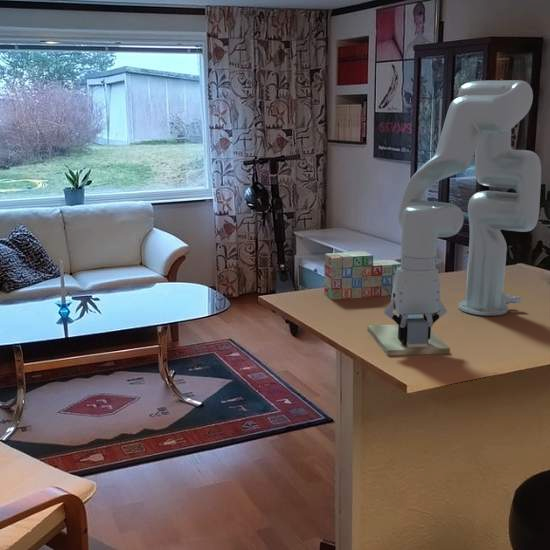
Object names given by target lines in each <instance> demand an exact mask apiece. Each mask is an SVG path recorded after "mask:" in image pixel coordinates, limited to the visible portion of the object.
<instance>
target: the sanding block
mask: <svg viewBox="0 0 550 550" xmlns="http://www.w3.org/2000/svg"><path fill="white" fill-rule="evenodd" d="M428 325H429V323H428V322H427V321H426V320H425V319H424V318H423V317H422V316H421V314H415V315H408V318H407V322H406V328H407V344H406V345H407V346H408V347H409V348H414V347H427V342H428Z"/></svg>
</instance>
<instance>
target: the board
mask: <svg viewBox="0 0 550 550" xmlns="http://www.w3.org/2000/svg"><path fill="white" fill-rule="evenodd" d="M398 326H399V325H398V324H397V323H396V324H373V325H372V324H370V325H369V324H368V325H367V332H368V333H369V334H370V335H371V336H372V337H373V339H374V340H375V341H376V343H377V344H378V345H379V346H380V348H381V350H383V352H384V353H385V354H386V356H391V357H392V356H416V355H439V354H440V355H441V354H442V355H443V354H450V351H451V347H449V346H448V345H447V343H445V342H444V341H443V340H442V339H441V338H440V337H439V336H438V335H436V334H435V333H434V332H433V331H432V330H431V333H430V339H428V344H427V347H414V348H409V347H408V346H407V345H403V344H402V343H401V342H400V340H399V339H398Z"/></svg>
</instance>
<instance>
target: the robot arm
mask: <svg viewBox="0 0 550 550" xmlns="http://www.w3.org/2000/svg"><path fill="white" fill-rule="evenodd" d="M533 99H534V93H533V89H532V87H531V85H530V84H529V83H528V82H527V81H525V80H521V79H519V80H516V79H515V80H513V79H512V80H510V79H509V80H508V79H507V80H506V79H505V80H495V79H493V80H492V79H491V80H489V79H488V80H475V81H473V80H472V81H468V82H465V83H464V84H463V85H461V86H460V88H459V90H458V96H457V97H456V98H455V99H453V100H452V101H451V103H450V104H449V107H448V109H447V113H446V116H445V118H444V119H445V120H444V123H443V127H442V130H441V132H440V137H439V140H438V143H437V147H436V151H435V153H434V155H433V157H431V158H430V159H429V160H428V161H426V162H425V163H423V165H422V166H420V167H419V168H418V169H417V171H416V172H415V173H414V174H413V175H412V176H411V178H410V179H409V180H408V181H407V184H406V186H405V188H404V190H403V194H402V198H401V201H400V205H399V210H398V217H397V218H398V224H399V225H400V228H401V245H400V262H399V263H400V267H398V268H396V272H395V276H394V281H393V288H392V295H390V297H391V298H390V301H389V303H388V304H387V306H386V308H385V309H384V311H383V314H384V315H385V316H387V317H388V318H390V319H391V320H393V322H395V323H396V324H398V325H399V326H398V339H399V340H400V342H401V343H402V344H403V345H406V344H407V328H406V322H407V318H408V315H415V314H419V315H422V316H423V317H422V318H424V319H425V320H426V321H427V322H428V323H429V325H428V339H430V333H431V331H432V327H433V326H434V324H435V323H436V322H437V321H438V320H439V318H441V317H442V316H444V315H445V314H447V312H448V310H447V309H446V307H445V305H444V303H443V302H442V301H441V283H440V281H441V280H440V275H439V274H440V273H439V269H438V268H437V266H438V264H442V262H443V257H441V256H440V257H439V256H438V255H437V247H438V246H437V245H438V238H449V237H454V236H455V235H457V234H458V233H459V232H460V230H461V229H462V227H463V226H464V225H463V224H464V220H465V219H464V218H465V217H464V213H463V211H462V209H461V207H459V206H458V205H456V204H454V203H450V202H443V201H435V200H434V201H432V200H422V199H423V196H424V195H425V194H426V192H427V190H428V189H429V188H430V187H432V186H433V185H435V184H436V183H438V182H439V181H441V180H444V179H446V178H449V177H452V176H454V175H457V174H460V173H463V172H464V171H467V170H469V169H470V168H471V166H472V164H473V160H474V177H475V180H476V181H477V183H478V184H480V185H482V186H485V187H491V188H492V187H493V188H502V189H504V188H505V189H514V190H515V191H516V193H515V192H507V191H497V190H482V191H478V192H476V193H474V194H473V195H472V196H471V197H470V198H469V201H468V204H467V216H468V217H467V219H468V227H469V243H468V255H467V257H468V258H467V269H466V285H465V299H464V300H462V301H460V302H459V303H458V309H459V310H461V311H462V312H463V313H467V314H470V315H475V316H476V315H477V316H484V317H485V316H486V317H488V316H489V317H490V316H502V315H504V314H507V313H508V312H509V311H508V310H509V308H508V305H509V304H520V303H521V296H520V295H511V294H506V293H505V292H504V285H505V278H506V277H505V275H506V262H507V251H508V246H507V242H506V239H505V237H504V235H503V233H502V230H504V231H510V232H511V231H512V232H519V233H520V232H521V233H523V232H524V233H525V232H526V233H527V232H530V231H532V230H534V229H535V228H536V226H537V223H538V221H539V215H540V202H541V189H542V186H541V184H542V163H541V159H540V157H539V155H538V154H537V153H535V151H532V150H526V149H513V148H512V129H513V128H514V127H515V126H516V125H517V124H519V122H521V120H523V119H524V118H525V116H526V115H527V114H528V113H529V112H530V109H531V107H532V105H533ZM394 310H395V312H396V313H394ZM397 314H398V315H397ZM427 344H428V342H427Z"/></svg>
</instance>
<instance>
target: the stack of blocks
mask: <svg viewBox="0 0 550 550" xmlns="http://www.w3.org/2000/svg"><path fill="white" fill-rule="evenodd" d="M400 263H401V262H399V261H397V260H395V259H384V260H383V259H381V260H377V259H376V260H374V255H373V254H371V253H369V252H367V251H365V250H364V251H363V250H362V251H360V250H358V251H347V252H331V253H329V252H328V253H325V254H324V269H323V271H324V272H323V273H324V286H323V287H324V290H323V292H324V295H325V296H326V295H327V296H328V297H327V296H326V297H327V298H329V299H330V298H331V299H333V300H345V299H346V300H347V298H349V299H361V298H373V297H374V298H375V296H376V297H386V296H387V297H389V296H388V295H390V296H391V295H392V288H393V281H394V276H395V272H396V268H398V267H400ZM331 299H330V300H331Z"/></svg>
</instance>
